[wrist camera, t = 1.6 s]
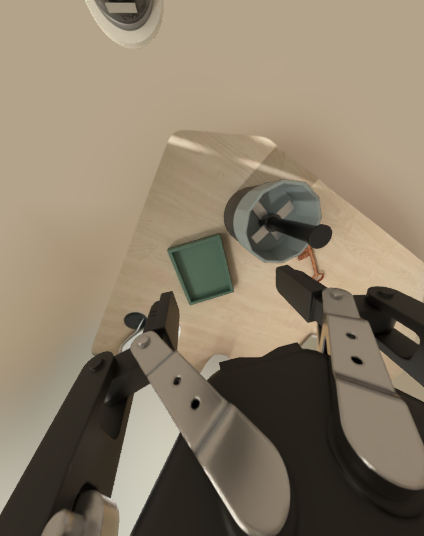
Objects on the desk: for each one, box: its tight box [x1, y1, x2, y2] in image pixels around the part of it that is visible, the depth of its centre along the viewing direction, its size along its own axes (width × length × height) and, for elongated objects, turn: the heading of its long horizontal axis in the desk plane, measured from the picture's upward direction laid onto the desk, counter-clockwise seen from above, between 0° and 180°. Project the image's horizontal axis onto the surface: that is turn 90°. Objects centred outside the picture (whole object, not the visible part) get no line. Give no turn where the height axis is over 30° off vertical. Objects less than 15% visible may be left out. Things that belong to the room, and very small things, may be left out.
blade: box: [251, 200, 332, 249], centre depth 24 cm, size 9×9×14 cm
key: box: [298, 245, 324, 282], centre depth 48 cm, size 6×1×15 cm
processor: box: [224, 179, 322, 263], centre depth 32 cm, size 13×13×16 cm
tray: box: [167, 233, 234, 305], centre depth 43 cm, size 18×14×2 cm
